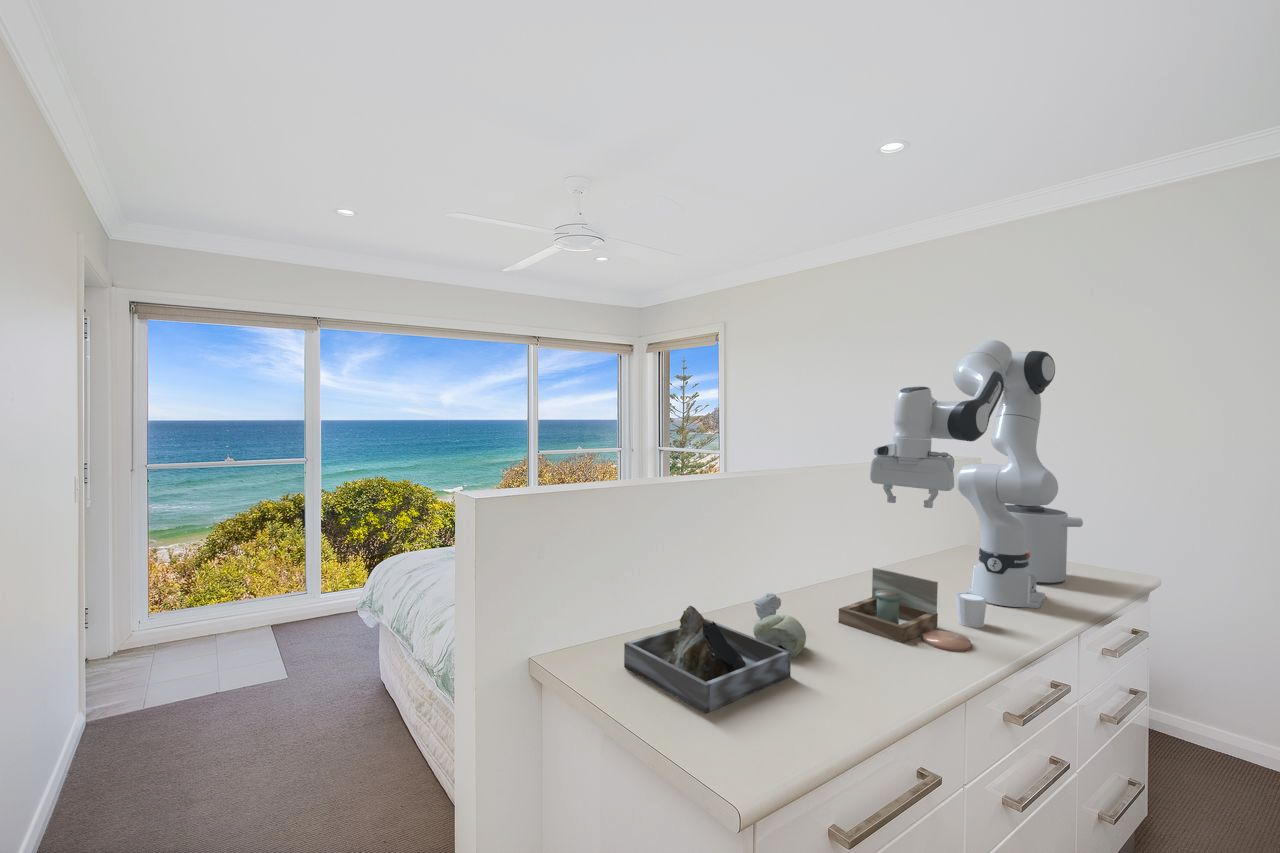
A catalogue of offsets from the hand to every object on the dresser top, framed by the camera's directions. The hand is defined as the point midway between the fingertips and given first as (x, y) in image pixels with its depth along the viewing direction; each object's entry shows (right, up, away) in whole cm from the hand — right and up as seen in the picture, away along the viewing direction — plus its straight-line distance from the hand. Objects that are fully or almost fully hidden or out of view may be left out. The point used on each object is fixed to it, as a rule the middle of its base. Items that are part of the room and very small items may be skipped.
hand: (909, 505), depth 149 cm
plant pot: (-5, -30, 0) cm, 31 cm away
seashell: (-36, -31, -15) cm, 49 cm away
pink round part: (+4, -31, -11) cm, 33 cm away
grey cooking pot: (+62, -30, +46) cm, 83 cm away
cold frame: (-5, -30, 0) cm, 31 cm away
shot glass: (+17, -31, +2) cm, 35 cm away
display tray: (-54, -31, -28) cm, 68 cm away
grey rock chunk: (-35, -30, +3) cm, 47 cm away
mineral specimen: (-54, -30, -29) cm, 68 cm away
